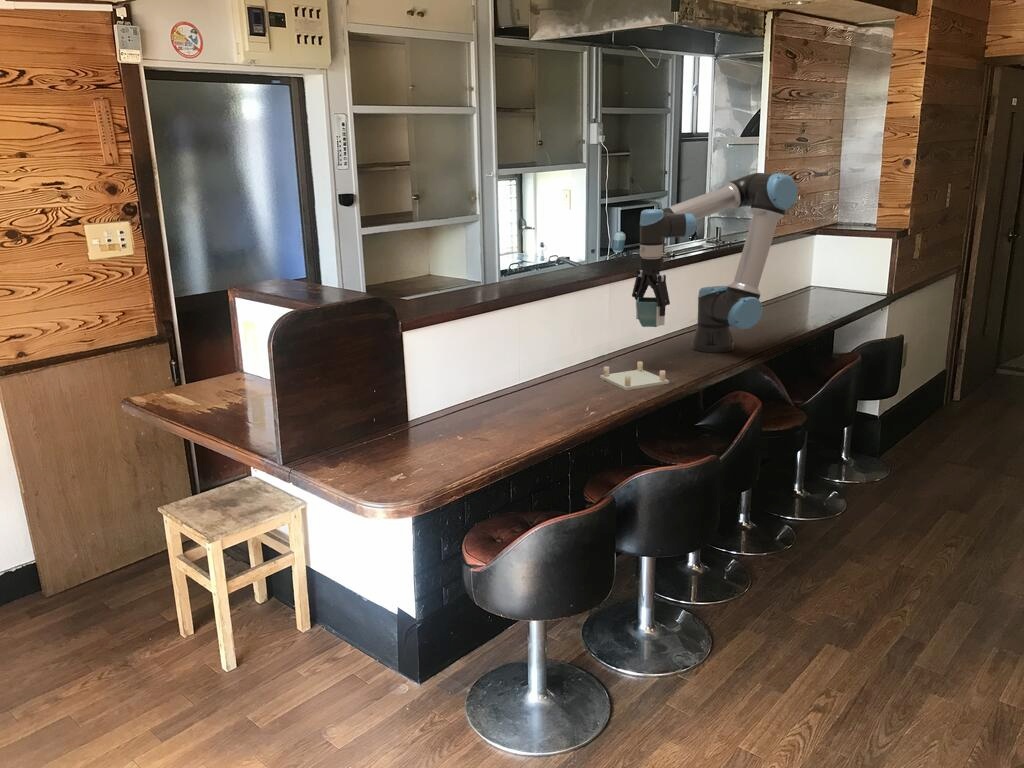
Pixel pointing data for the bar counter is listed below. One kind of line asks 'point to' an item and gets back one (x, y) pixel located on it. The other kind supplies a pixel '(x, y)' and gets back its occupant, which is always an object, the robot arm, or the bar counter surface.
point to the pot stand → (634, 378)
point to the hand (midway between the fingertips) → (649, 322)
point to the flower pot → (647, 311)
